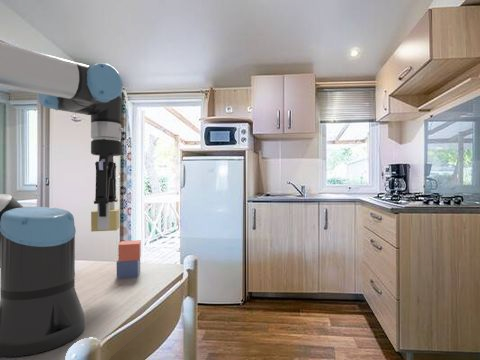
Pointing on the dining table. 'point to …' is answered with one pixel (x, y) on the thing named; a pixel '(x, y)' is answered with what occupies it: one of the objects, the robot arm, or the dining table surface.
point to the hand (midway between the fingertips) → (106, 227)
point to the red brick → (129, 250)
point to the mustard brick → (113, 220)
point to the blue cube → (128, 269)
